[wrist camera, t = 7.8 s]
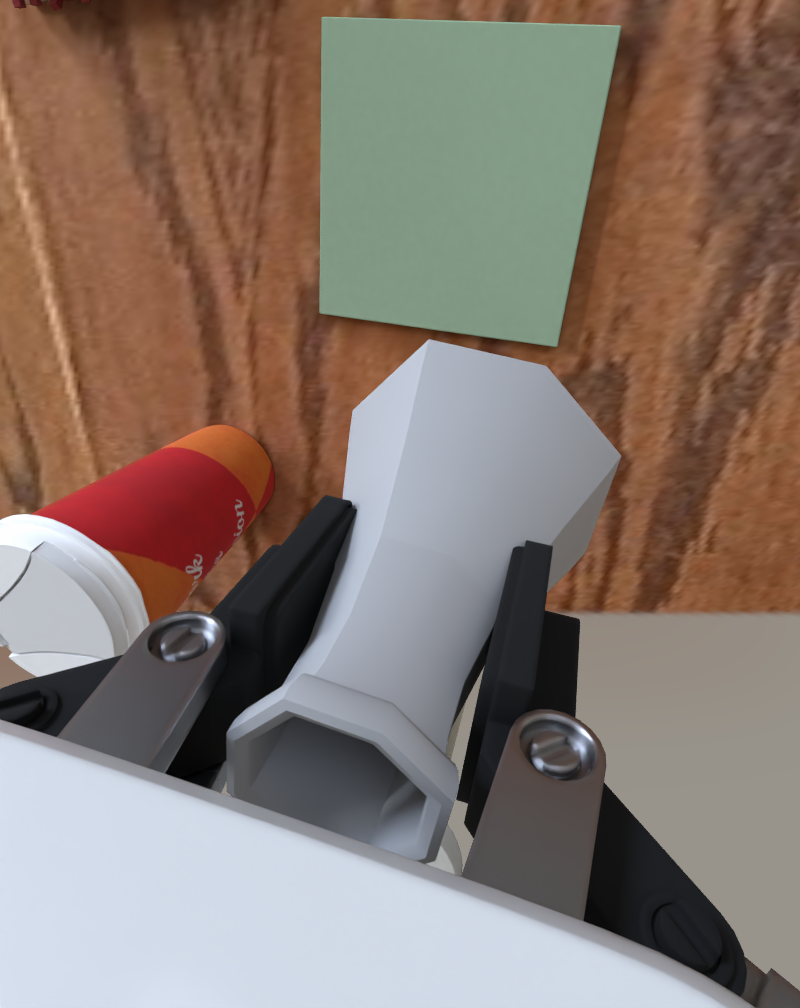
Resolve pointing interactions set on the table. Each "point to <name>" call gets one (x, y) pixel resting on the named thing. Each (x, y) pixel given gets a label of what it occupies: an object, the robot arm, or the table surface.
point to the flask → (420, 591)
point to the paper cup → (125, 548)
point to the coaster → (457, 170)
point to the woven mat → (56, 3)
